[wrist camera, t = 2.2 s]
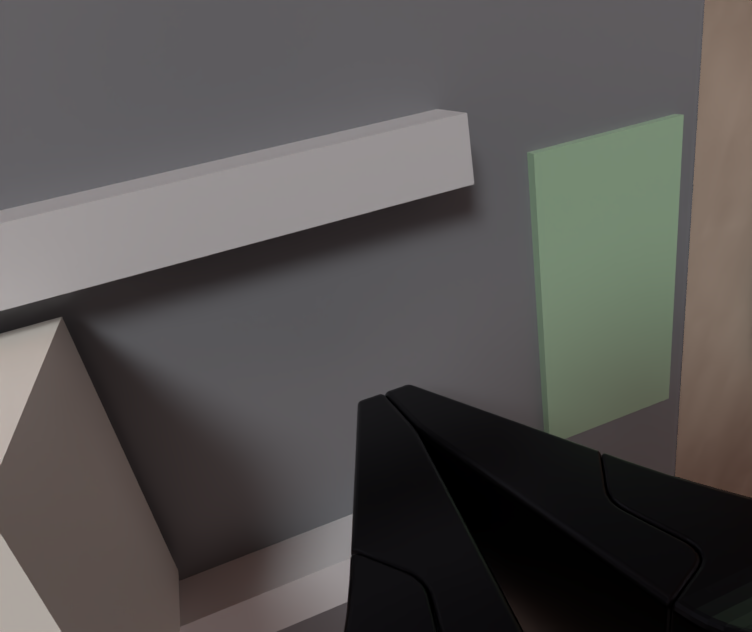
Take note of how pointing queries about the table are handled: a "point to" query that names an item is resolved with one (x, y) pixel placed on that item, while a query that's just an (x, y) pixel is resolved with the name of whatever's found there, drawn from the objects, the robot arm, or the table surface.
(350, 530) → the slider switch base
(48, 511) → the switch knob
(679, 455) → the table surface
